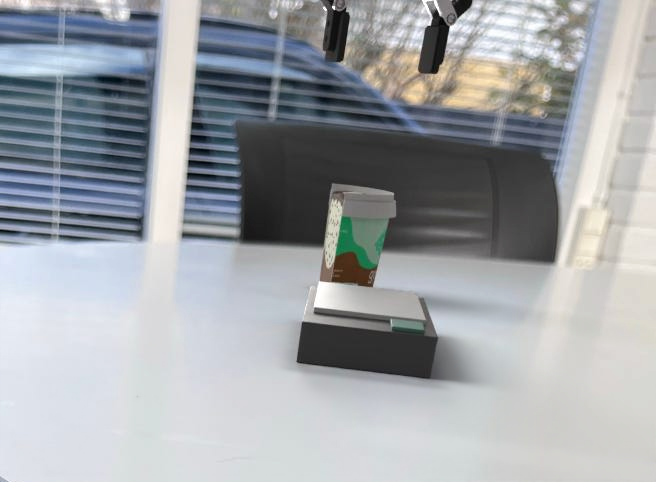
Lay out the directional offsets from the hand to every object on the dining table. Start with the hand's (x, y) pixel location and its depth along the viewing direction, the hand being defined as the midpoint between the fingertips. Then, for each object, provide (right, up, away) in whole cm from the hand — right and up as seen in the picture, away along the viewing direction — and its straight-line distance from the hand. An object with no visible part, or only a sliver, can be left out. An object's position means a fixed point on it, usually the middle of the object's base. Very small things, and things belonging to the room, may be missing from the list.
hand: (381, 67), depth 100 cm
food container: (-1, -18, +11) cm, 21 cm away
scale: (-4, -30, -13) cm, 33 cm away
